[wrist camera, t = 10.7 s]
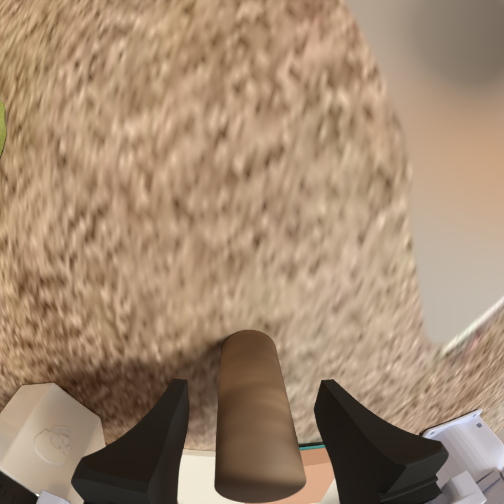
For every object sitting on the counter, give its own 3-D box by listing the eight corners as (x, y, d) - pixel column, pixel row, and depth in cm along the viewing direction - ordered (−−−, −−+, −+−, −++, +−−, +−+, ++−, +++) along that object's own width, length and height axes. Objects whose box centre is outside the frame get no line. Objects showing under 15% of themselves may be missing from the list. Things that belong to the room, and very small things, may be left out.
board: (396, 431, 20) (399, 435, 19) (352, 498, 23) (353, 502, 23) (164, 446, 18) (163, 452, 17) (182, 509, 21) (181, 513, 21)
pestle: (279, 330, 16) (315, 462, 7) (273, 374, 17) (297, 500, 8) (221, 328, 16) (213, 465, 7) (220, 373, 16) (215, 502, 8)
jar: (126, 431, 17) (91, 559, 6) (91, 459, 18) (60, 554, 7) (33, 360, 15) (-48, 466, 4) (15, 402, 17) (-39, 486, 5)
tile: (344, 459, 16) (320, 502, 18) (337, 442, 18) (315, 487, 20) (250, 469, 16) (244, 509, 18) (248, 449, 18) (243, 492, 20)
